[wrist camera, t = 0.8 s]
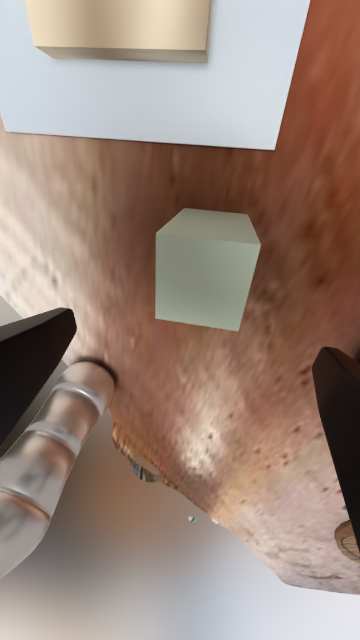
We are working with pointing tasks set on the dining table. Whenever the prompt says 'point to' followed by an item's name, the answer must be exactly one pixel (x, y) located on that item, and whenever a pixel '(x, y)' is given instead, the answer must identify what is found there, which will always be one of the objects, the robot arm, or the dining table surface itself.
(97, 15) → the foundation slab
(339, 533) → the trivet
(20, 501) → the plastic bottle
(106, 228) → the dining table surface
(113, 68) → the board
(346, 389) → the robot arm
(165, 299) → the block
